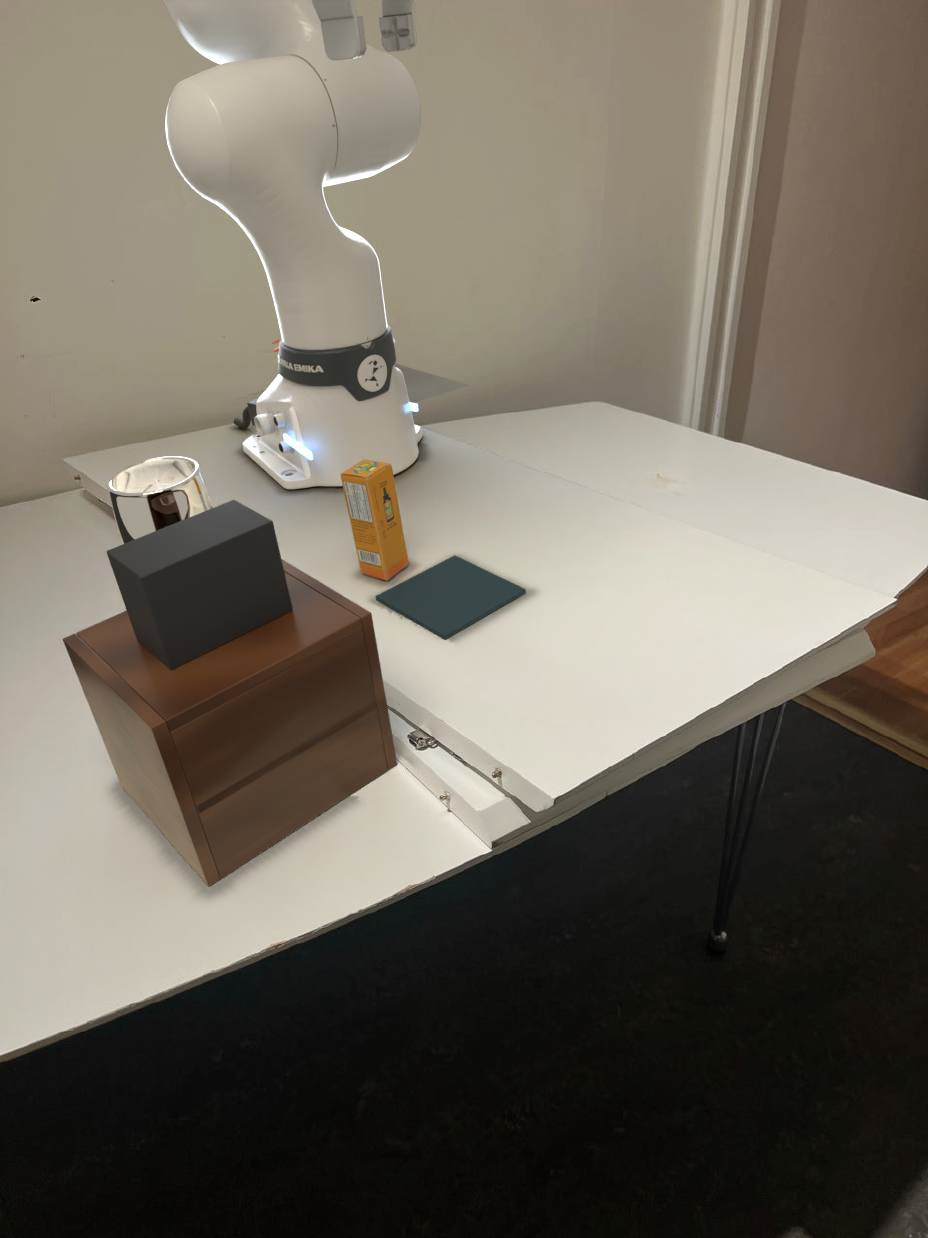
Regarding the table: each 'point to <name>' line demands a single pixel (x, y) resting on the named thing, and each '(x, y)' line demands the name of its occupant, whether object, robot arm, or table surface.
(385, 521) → the supplement box
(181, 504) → the silver metal tumbler
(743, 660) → the table surface
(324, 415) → the robot arm
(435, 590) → the pad
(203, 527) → the dark gray rectangular box
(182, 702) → the wooden drawer unit
